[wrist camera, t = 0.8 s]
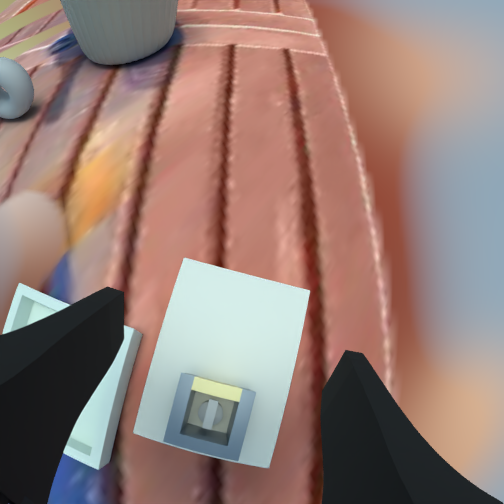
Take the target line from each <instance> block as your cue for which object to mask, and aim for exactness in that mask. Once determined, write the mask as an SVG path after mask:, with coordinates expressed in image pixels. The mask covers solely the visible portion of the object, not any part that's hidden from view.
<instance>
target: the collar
mask: <svg viewBox="0 0 504 504" xmlns="http://www.w3.org/2000/svg"><path fill="white" fill-rule="evenodd" d="M196 391H198V392H202V393H205V394H209V395H213V396H217V397H220V398H224V399H228V400H232V401H234V405H233V409H232V413H231V417H230V420H229V424H228V428H227V432H226V433H224V432H220V431H216V430H212V429H211V430H209V429H205V428H202V427H200V426H196V425H193V424H189V423H188V419H189V415H190V411H191V407H192V403H193V400H194V396H195V392H196ZM255 395H256V392H255V391H252V390H250V389H247V388H242V387H238V386H234V385H230V384H226V383H222V382H218V381H214V380H211V379H207V378H203V377H200V376H196V375H193V374H189V373H181V375H180V379H179V382H178V386H177V390H176V394H175V397H174V401H173V405H172V409H171V413H170V416H169V420H168V424H167V428H166V432H165V436H164V440H163V442H166V443H169V444H172V445H175V446H179V447H182V448H186V449H189V450H193V451H197V452H200V453H204V454H208V455H212V456H216V457H221V458H225V459H230V460H234V461H238V460H239V457H240V453H241V449H242V445H243V442H244V438H245V434H246V430H247V427H248V423H249V419H250V415H251V411H252V407H253V403H254V399H255Z"/></svg>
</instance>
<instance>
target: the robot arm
mask: <svg viewBox="0 0 504 504" xmlns="http://www.w3.org/2000/svg"><path fill="white" fill-rule="evenodd" d="M123 341H124V292H122V291H119V290H116V289H113V288H110V287H106V288H104V289H102V290H99V291H97V292H95V293H93V294H91V295H90V296H88V297H86V298H84V299H82V300H80V301H78V302H76V303H74V304H72V305H70V306H68V307H66V308H64V309H62V310H60V311H58V312H56V313H54V314H52V315H49V316H47V317H45V318H43V319H41V320H38V321H36V322H34V323H32V324H30V325H27V326H25V327H22V328H19V329H17V330H14V331H11V332H8V333H5V334H2V335H0V504H8V503H9V504H47V502H48V498H49V494H50V490H51V487H52V483H53V480H54V477H55V474H56V471H57V468H58V465H59V462H60V459H61V457H62V454H63V452H64V449H65V447H66V444H67V442H68V439H69V437H70V435H71V433H72V430H73V428H74V426H75V424H76V422H77V420H78V418H79V416H80V414H81V412H82V411H83V409H84V407H85V406H86V404H87V403H88V401H89V400H90V398H91V396H92V395H93V393H94V392H95V390H96V389H97V387H98V385H99V384H100V382H101V381H102V379H103V378H104V376H105V375H106V373H107V372H108V370H109V368H110V367H111V365H112V364H113V362H114V360H115V358H116V356H117V354H118V352H119V349H120V347H121V345H122V343H123ZM321 435H322V452H323V471H324V486H323V497H322V504H503V503H502V502H501V501H499V500H497V499H496V498H494V497H492V496H491V495H489V494H487V493H486V492H484V491H482V490H481V489H479V488H478V487H477V486H475V485H474V484H472V483H471V482H470V481H468V480H467V479H466V478H464V477H463V476H462V475H461V474H460V473H458V472H457V471H456V470H455V469H454V468H453V467H451V466H450V465H449V464H448V463H447V462H446V461H445V460H444V459H443V458H442V457H441V456H439V454H437V452H436V451H435V450H434V449H433V448H432V447H431V446H430V445H429V444H428V442H427V441H426V440H425V439H424V438H423V437H422V436H421V435H420V433H418V431H417V430H416V429H415V427H414V426H413V425H412V423H411V422H410V421H409V420H408V418H407V417H406V416H405V414H404V413H403V412H402V410H401V409H400V407H399V406H398V405H397V403H396V402H395V400H394V399H393V397H392V396H391V394H390V393H389V391H388V390H387V388H386V387H385V385H384V384H383V382H382V381H381V379H380V378H379V376H378V375H377V373H376V372H375V370H374V369H373V367H372V366H371V364H370V363H369V361H368V360H367V359H366V357H365V356H364V354H363V353H359V352H353V351H348V350H345V352H344V354H343V356H342V357H341V359H340V361H339V363H338V365H337V366H336V368H335V370H334V372H333V373H332V375H331V377H330V379H329V380H328V382H327V384H326V385H325V387H324V389H323V390H322V401H321Z"/></svg>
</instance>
